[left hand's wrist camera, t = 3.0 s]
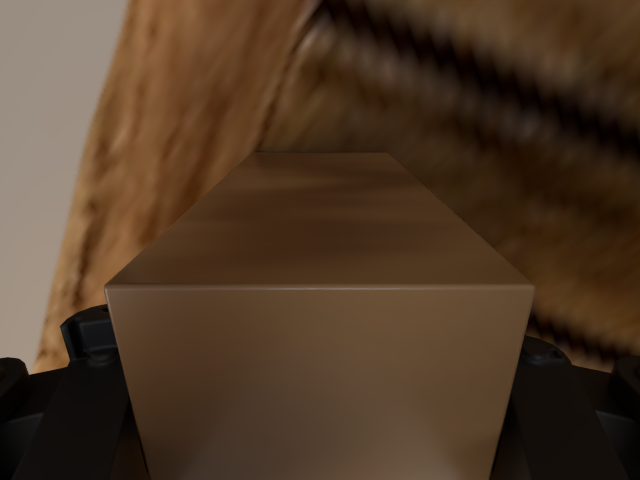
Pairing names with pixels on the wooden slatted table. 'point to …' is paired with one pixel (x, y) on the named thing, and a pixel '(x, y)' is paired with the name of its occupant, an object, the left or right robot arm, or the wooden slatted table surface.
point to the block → (319, 329)
